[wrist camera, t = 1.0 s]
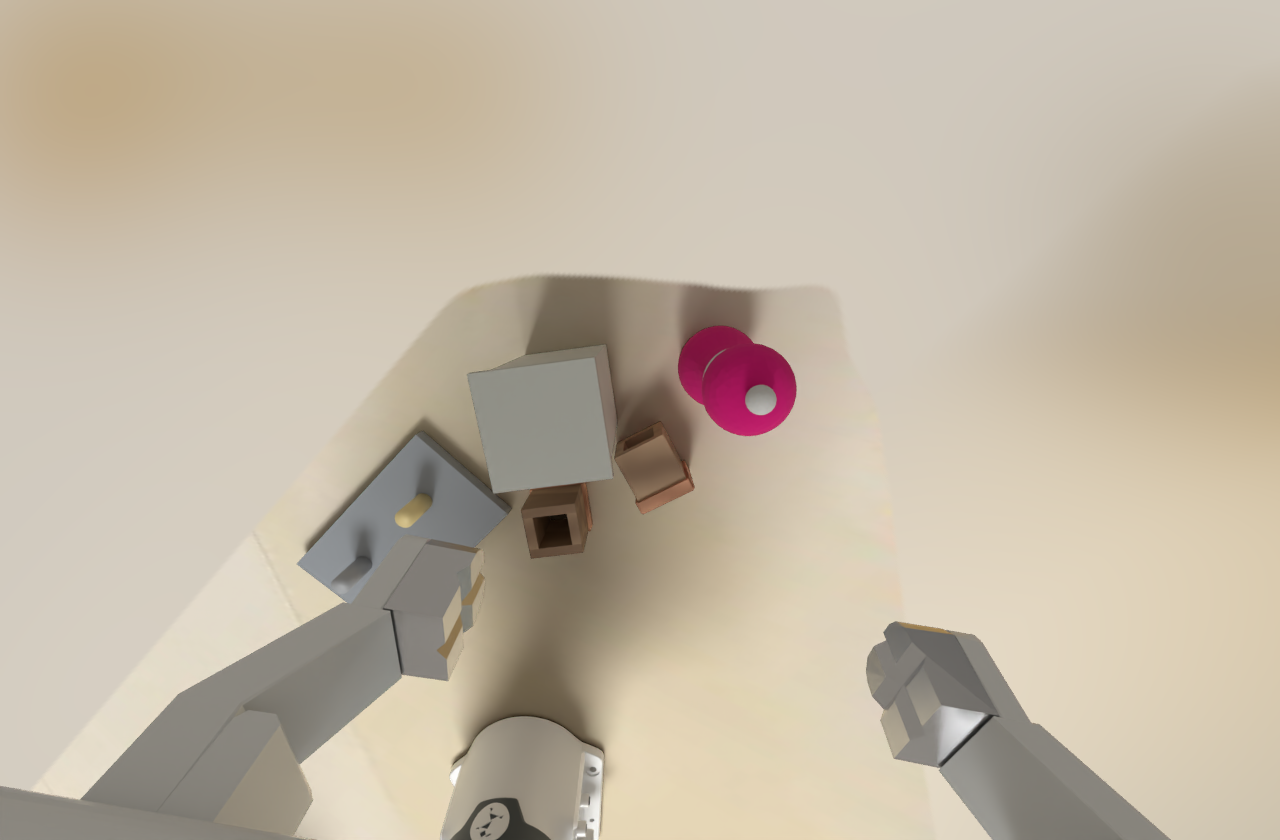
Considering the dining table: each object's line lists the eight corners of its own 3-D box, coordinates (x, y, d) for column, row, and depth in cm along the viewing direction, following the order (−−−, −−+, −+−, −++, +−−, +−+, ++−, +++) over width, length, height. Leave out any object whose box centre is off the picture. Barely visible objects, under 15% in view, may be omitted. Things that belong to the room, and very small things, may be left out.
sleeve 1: (593, 525, 50) (586, 554, 44) (541, 532, 50) (528, 561, 44) (584, 476, 49) (577, 500, 43) (531, 483, 49) (517, 507, 43)
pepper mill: (660, 350, 46) (676, 384, 26) (724, 309, 45) (790, 312, 25) (698, 411, 47) (740, 485, 28) (761, 372, 46) (850, 421, 27)
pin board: (511, 508, 50) (496, 532, 44) (394, 624, 53) (366, 660, 48) (422, 430, 48) (394, 446, 42) (306, 556, 51) (267, 586, 46)
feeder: (624, 451, 48) (618, 513, 34) (541, 461, 48) (500, 528, 34) (608, 340, 45) (594, 357, 31) (521, 352, 46) (467, 374, 31)
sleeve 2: (689, 469, 49) (695, 489, 43) (641, 493, 49) (641, 515, 44) (663, 419, 47) (666, 433, 42) (614, 444, 48) (611, 461, 43)
